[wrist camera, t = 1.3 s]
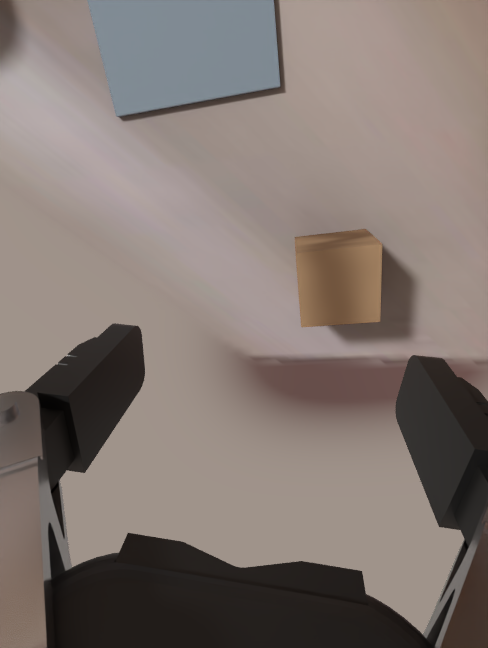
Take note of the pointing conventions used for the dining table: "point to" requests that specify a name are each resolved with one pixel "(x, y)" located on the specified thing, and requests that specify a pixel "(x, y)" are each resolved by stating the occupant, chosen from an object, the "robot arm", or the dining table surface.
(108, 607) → the robot arm
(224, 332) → the dining table surface
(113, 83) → the slate mat
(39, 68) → the dining table surface
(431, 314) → the dining table surface
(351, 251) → the walnut block
